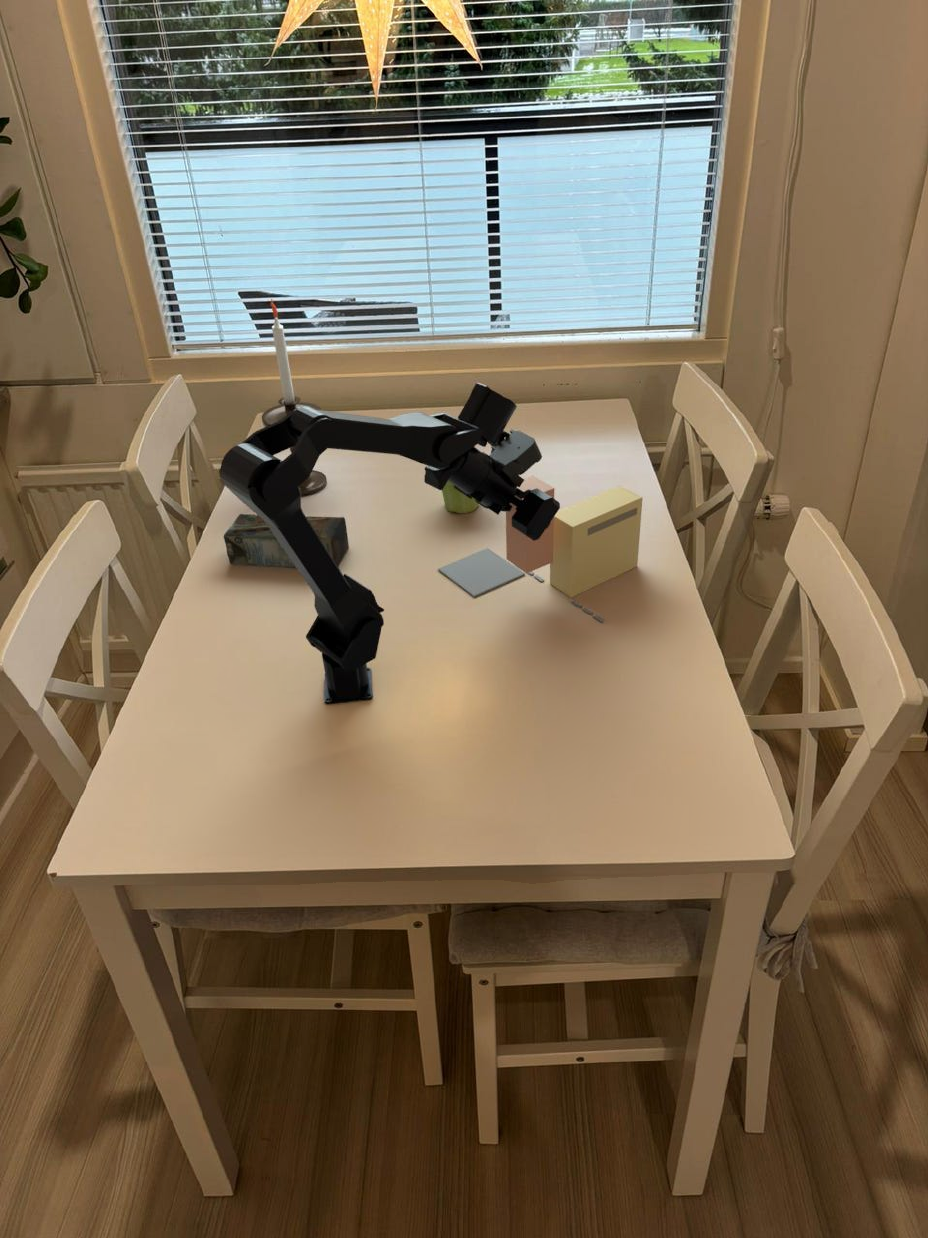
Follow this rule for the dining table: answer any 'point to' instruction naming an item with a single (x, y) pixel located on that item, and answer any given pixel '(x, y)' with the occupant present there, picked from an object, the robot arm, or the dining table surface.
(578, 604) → the perforation marks
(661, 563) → the dining table surface
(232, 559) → the beverage carton
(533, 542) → the stub
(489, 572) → the coaster
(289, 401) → the candlestick
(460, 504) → the plant pot
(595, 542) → the block
